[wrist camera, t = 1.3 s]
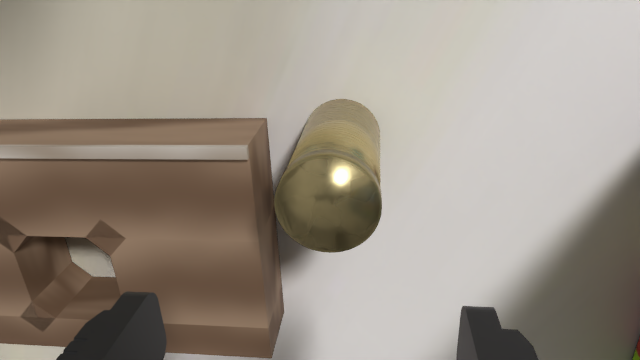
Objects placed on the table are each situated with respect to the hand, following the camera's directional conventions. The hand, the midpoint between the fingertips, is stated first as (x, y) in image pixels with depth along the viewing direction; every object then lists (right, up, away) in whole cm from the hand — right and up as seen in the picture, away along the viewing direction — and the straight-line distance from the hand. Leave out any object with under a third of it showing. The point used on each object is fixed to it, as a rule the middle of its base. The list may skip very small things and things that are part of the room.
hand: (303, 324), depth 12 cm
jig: (-11, +1, +17) cm, 20 cm away
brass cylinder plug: (+2, +6, +13) cm, 14 cm away
